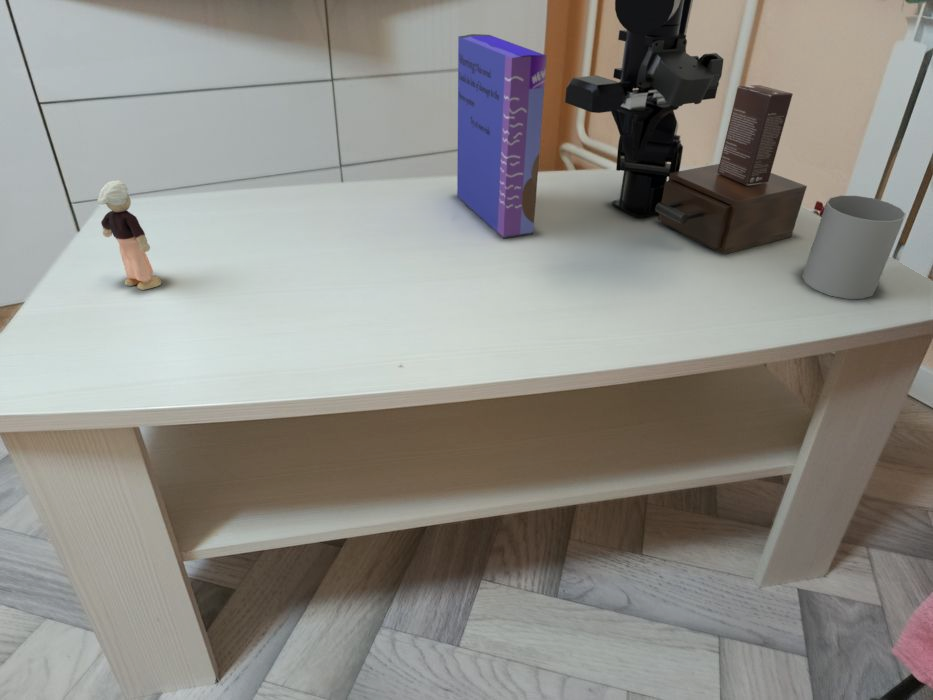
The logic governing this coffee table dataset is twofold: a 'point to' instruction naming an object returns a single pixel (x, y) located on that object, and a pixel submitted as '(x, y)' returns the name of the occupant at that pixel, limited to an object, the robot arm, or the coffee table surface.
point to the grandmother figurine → (127, 235)
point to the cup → (852, 246)
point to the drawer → (694, 213)
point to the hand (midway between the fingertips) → (632, 161)
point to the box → (754, 134)
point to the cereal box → (499, 131)
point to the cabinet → (748, 206)
